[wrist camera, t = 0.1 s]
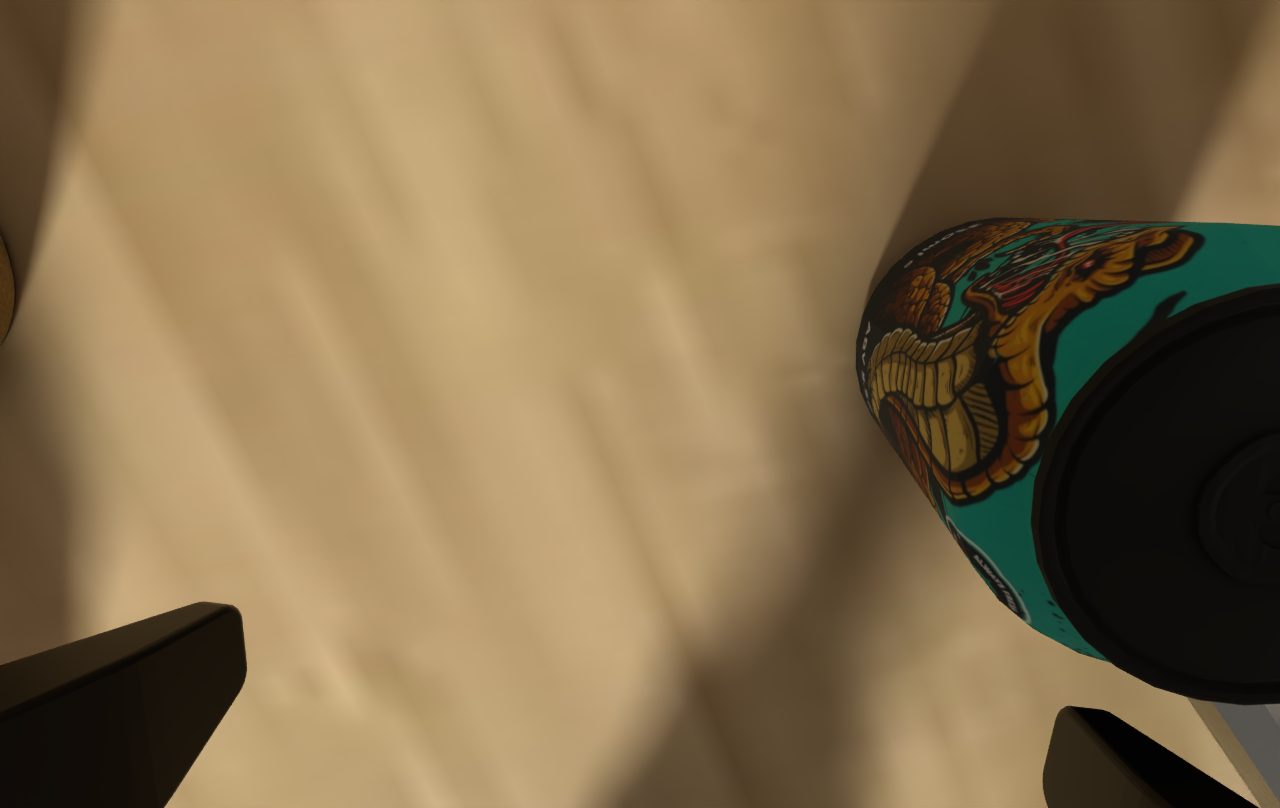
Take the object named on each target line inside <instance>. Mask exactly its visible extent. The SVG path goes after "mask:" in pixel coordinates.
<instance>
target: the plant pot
mask: <svg viewBox="0 0 1280 808" xmlns="http://www.w3.org/2000/svg"><path fill="white" fill-rule="evenodd" d="M13 306H14V280H13V274H12V269H11V265H10V261H9V257H8V254H7V251H6V248H5V245H4V243H3V240H2V237H1V235H0V345H1V343H2V341H3V340H4V338H5V336H6V334H7V331H8V329H9V326H10V322H11V318H12V315H13Z"/></svg>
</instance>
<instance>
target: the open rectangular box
mask: <svg viewBox="0 0 1280 808" xmlns="http://www.w3.org/2000/svg"><path fill="white" fill-rule="evenodd" d="M1187 698H1188V699H1189V701H1190V702H1191V704H1192V705H1193V707H1194V708H1195V710H1196V711H1197V713H1198V714H1199V716H1200V717H1201V719H1202V720H1203V722H1204V723H1205V725H1206V726H1207V727H1208V729H1209V730H1210V732H1211V733H1212V735H1213V736H1214V738H1215V739H1216V741H1217V742H1218V744H1219V745H1220V747H1221V748H1222V750H1223V751H1224V753H1225V754H1226V756H1227V757H1228V758H1229V760H1230V761H1231V763H1232V764H1233V766H1234V767H1235V769H1236V770H1237V772H1238V773H1239V775H1240V776H1241V778H1242V779H1243V781H1244V782H1245V784H1246V785H1247V787H1248V788H1249V789H1250V791H1251V792H1252V794H1253V795H1254V797H1255V798H1256V800H1257V801H1258V803H1259V804H1260V806H1261V807H1262V808H1280V704H1266V705H1246V706H1244V705H1235V704H1227V703H1218V702H1210V701H1201V700H1196V699H1192V698H1189V697H1187Z"/></svg>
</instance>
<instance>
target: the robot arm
mask: <svg viewBox="0 0 1280 808" xmlns="http://www.w3.org/2000/svg"><path fill="white" fill-rule="evenodd" d="M246 673H247V661H246V651H245V642H244V632H243V622H242V616H241V613H240V611H239V610H238V609H237V608H236V607H235V606H233V605H228V604H220V603H212V602H197V603H194V604H191V605H188V606H184V607H181V608H178V609H175V610H172V611H169V612H166V613H163V614H159V615H156V616H153V617H150V618H147V619H144V620H141V621H138V622H134V623H131V624H128V625H125V626H122V627H119V628H116V629H113V630H110V631H106V632H103V633H100V634H97V635H94V636H91V637H88V638H85V639H81V640H78V641H75V642H72V643H69V644H66V645H63V646H60V647H56V648H53V649H50V650H47V651H44V652H41V653H38V654H35V655H31V656H28V657H25V658H22V659H19V660H16V661H13V662H10V663H7V664H3V665H0V808H164V807H165V806H166V804H167V803H168V801H169V800H170V798H171V797H172V796H173V794H174V793H175V791H176V790H177V788H178V787H179V785H180V783H181V782H182V780H183V779H184V777H185V776H186V774H187V773H188V771H189V770H190V768H191V766H192V765H193V763H194V762H195V760H196V759H197V757H198V756H199V754H200V753H201V751H202V749H203V748H204V746H205V745H206V743H207V742H208V740H209V739H210V737H211V736H212V734H213V733H214V731H215V729H216V728H217V726H218V725H219V723H220V722H221V720H222V719H223V717H224V716H225V714H226V712H227V711H228V709H229V708H230V706H231V705H232V703H233V702H234V700H235V699H236V697H237V695H238V694H239V692H240V690H241V689H242V686H243V684H244V682H245V678H246ZM1043 790H1044V796H1045V800H1046V803H1047V806H1048V808H1258V807H1257V806H1255V805H1254V804H1252V803H1251V802H1249V801H1247V800H1246V799H1244V798H1243V797H1241V796H1240V795H1238V794H1237V793H1235V792H1233V791H1232V790H1230V789H1229V788H1227V787H1226V786H1224V785H1223V784H1221V783H1219V782H1218V781H1216V780H1215V779H1213V778H1212V777H1210V776H1208V775H1207V774H1205V773H1204V772H1202V771H1201V770H1199V769H1198V768H1196V767H1194V766H1193V765H1191V764H1190V763H1188V762H1187V761H1185V760H1184V759H1182V758H1180V757H1179V756H1177V755H1176V754H1174V753H1173V752H1171V751H1169V750H1168V749H1166V748H1165V747H1163V746H1162V745H1160V744H1159V743H1157V742H1155V741H1154V740H1152V739H1151V738H1149V737H1148V736H1146V735H1144V734H1143V733H1141V732H1140V731H1138V730H1137V729H1135V728H1134V727H1132V726H1130V725H1129V724H1127V723H1126V722H1124V721H1123V720H1121V719H1120V718H1118V717H1116V716H1115V715H1113V714H1112V713H1110V712H1108V711H1105V710H1101V709H1092V708H1083V707H1075V706H1066V707H1064V708H1063V709H1061V710H1060V711H1059V713H1058V714H1057V717H1056V720H1055V724H1054V728H1053V732H1052V736H1051V740H1050V745H1049V749H1048V753H1047V757H1046V761H1045V765H1044V770H1043Z"/></svg>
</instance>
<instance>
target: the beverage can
mask: <svg viewBox="0 0 1280 808" xmlns="http://www.w3.org/2000/svg"><path fill="white" fill-rule="evenodd" d="M856 370H857V375H858V380H859V385H860V390H861V393H862V396H863V398H864V400H865V402H866V404H867V407H868V409H869V411H870V413H871V415H872V417H873V418H874V420H875V421H876V423H877V424H878V426H879V427H880V429H881V430H882V432H883V433H884V435H885V436H886V437H887V439H888V440H889V442H890V443H891V445H892V446H893V448H894V449H895V451H896V452H897V454H898V455H899V457H900V458H901V460H902V461H903V463H904V464H905V466H906V467H907V469H908V470H909V472H910V473H911V475H912V476H913V478H914V479H915V481H916V482H917V484H918V485H919V487H920V488H921V490H922V491H923V493H924V494H925V495H926V497H927V498H928V500H929V501H930V503H931V504H932V506H933V507H934V509H935V510H936V512H937V513H938V515H939V516H940V518H941V519H942V521H943V522H944V524H945V525H946V527H947V528H948V530H949V531H950V533H951V534H952V536H953V537H954V539H955V540H956V542H957V543H958V545H959V546H960V548H961V549H962V551H963V552H964V553H965V555H966V556H967V558H968V559H969V561H970V562H971V564H972V565H973V567H974V568H975V569H976V571H977V572H978V573H979V575H980V576H981V577H982V579H983V580H984V581H985V583H986V584H987V585H988V586H989V588H990V589H991V590H992V592H993V593H994V594H995V596H996V597H997V598H998V600H999V601H1001V602H1002V603H1003V604H1004V605H1005V606H1007V607H1008V608H1009V609H1010V610H1011V611H1013V612H1014V613H1015V614H1016V615H1017V616H1019V617H1020V618H1021V619H1022V620H1023V621H1025V622H1026V623H1027V624H1028V625H1029V626H1031V627H1032V628H1033V629H1035V630H1037V631H1038V632H1040V633H1042V634H1044V635H1046V636H1048V637H1050V638H1051V639H1053V640H1055V641H1057V642H1059V643H1061V644H1063V645H1065V646H1067V647H1068V648H1070V649H1072V650H1074V651H1076V652H1078V653H1080V654H1083V655H1087V656H1090V657H1093V658H1097V659H1100V660H1103V661H1107V662H1110V663H1112V664H1113V665H1115V666H1116V667H1117V668H1119V669H1121V670H1123V671H1125V672H1127V673H1129V674H1131V675H1133V676H1134V677H1136V678H1138V679H1140V680H1142V681H1144V682H1146V683H1148V684H1150V685H1151V686H1153V687H1156V688H1159V689H1163V690H1166V691H1169V692H1173V693H1176V694H1179V695H1182V696H1186V697H1189V698H1192V699H1196V700H1201V701H1210V702H1218V703H1227V704H1235V705H1244V706H1246V705H1266V704H1280V226H1272V225H1253V224H1234V223H1200V222H1157V221H1114V220H1071V219H1028V218H992V219H986V220H979V221H973V222H967V223H964V224H961V225H959V226H956V227H953V228H950V229H947V230H945V231H942V232H939V233H938V234H936V235H934V236H933V237H931V238H929V239H928V240H926V241H924V242H922V243H921V244H919V245H917V246H916V247H914V248H913V249H912V250H911V251H910V252H908V253H907V254H906V255H905V256H904V257H903V258H902V259H901V260H899V261H898V262H897V263H896V264H895V265H894V266H893V267H892V268H891V269H890V270H889V272H888V273H887V274H886V276H885V277H884V278H883V280H882V281H881V282H880V284H879V285H878V286H877V288H876V289H875V291H874V293H873V295H872V297H871V299H870V301H869V303H868V305H867V307H866V309H865V311H864V314H863V316H862V320H861V324H860V329H859V333H858V337H857V341H856Z"/></svg>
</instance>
